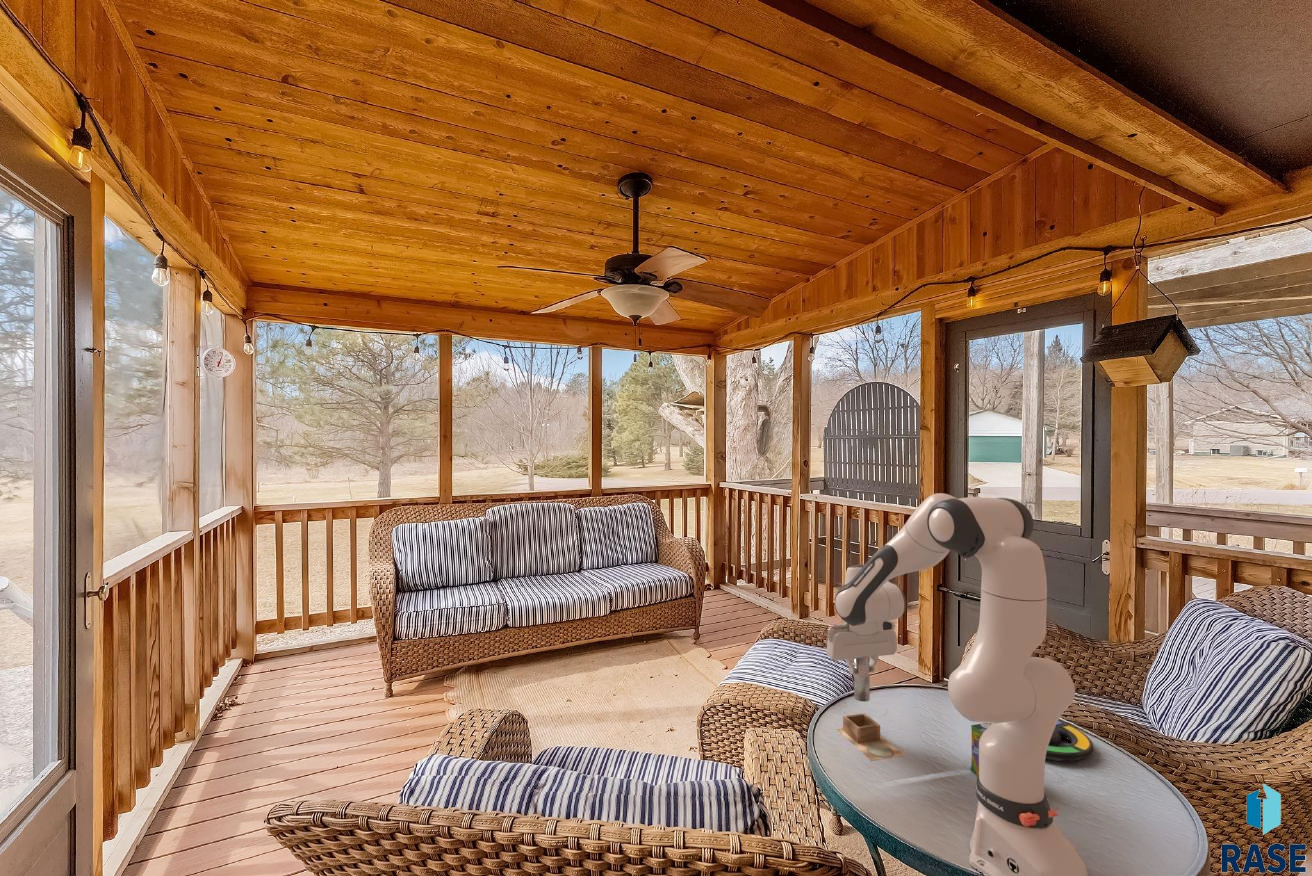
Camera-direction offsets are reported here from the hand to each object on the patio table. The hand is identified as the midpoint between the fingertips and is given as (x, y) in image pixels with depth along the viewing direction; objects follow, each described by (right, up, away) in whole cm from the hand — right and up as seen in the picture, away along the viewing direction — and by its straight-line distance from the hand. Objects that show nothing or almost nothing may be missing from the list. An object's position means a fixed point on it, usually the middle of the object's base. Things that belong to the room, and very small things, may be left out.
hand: (861, 672), depth 157 cm
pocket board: (+1, -18, -3) cm, 19 cm away
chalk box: (+27, -19, -18) cm, 38 cm away
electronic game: (+49, -19, -1) cm, 52 cm away
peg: (0, -7, 0) cm, 7 cm away
